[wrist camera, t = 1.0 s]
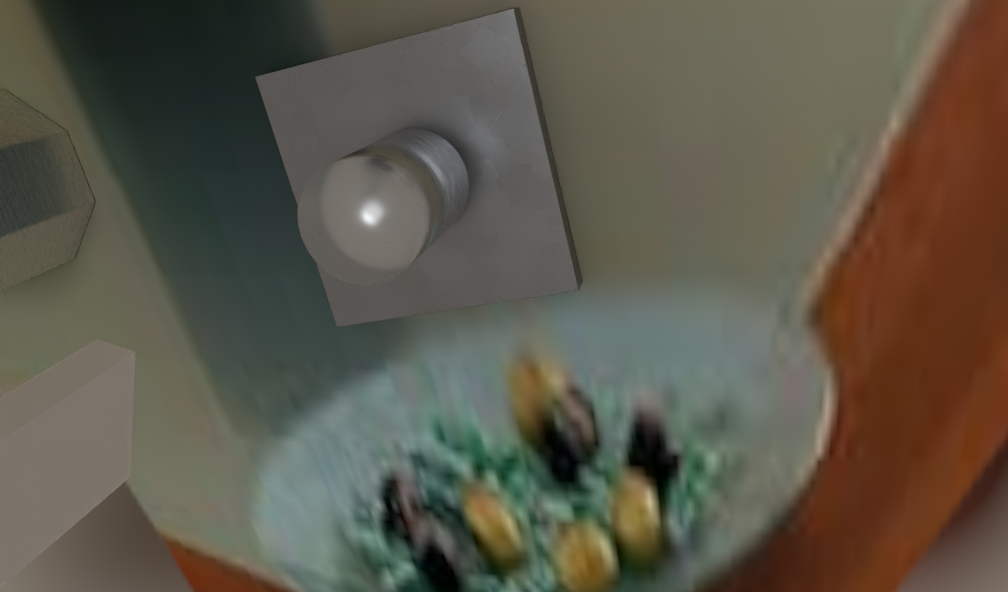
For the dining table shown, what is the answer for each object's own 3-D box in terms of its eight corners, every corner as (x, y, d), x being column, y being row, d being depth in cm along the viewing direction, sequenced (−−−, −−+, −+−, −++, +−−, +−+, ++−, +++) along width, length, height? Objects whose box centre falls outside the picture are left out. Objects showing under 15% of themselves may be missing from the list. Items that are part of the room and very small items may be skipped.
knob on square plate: (266, 74, 38) (166, 98, 31) (519, 7, 35) (466, 18, 28) (345, 318, 42) (270, 387, 35) (582, 282, 38) (549, 351, 31)
